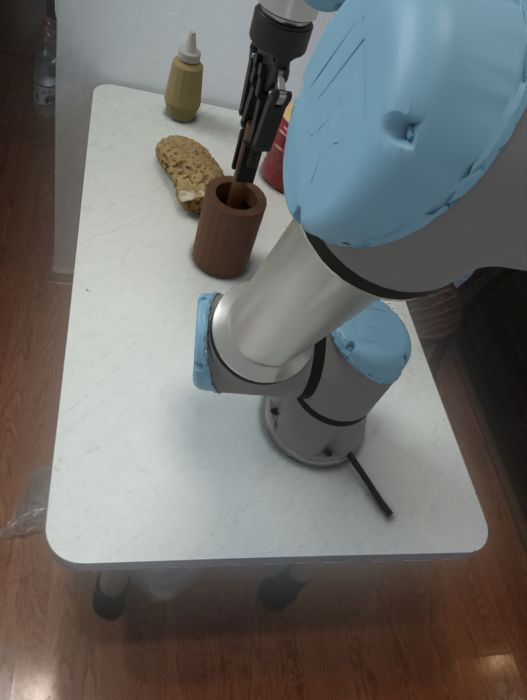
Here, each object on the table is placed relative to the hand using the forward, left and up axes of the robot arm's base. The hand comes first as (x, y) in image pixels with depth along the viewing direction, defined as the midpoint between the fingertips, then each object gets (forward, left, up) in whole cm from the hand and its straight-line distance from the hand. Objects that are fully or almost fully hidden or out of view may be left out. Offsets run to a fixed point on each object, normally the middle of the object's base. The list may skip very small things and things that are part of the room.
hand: (242, 174), depth 83 cm
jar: (0, 0, -18) cm, 18 cm away
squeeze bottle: (+35, -29, -18) cm, 49 cm away
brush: (0, 0, -13) cm, 13 cm away
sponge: (+17, -11, -18) cm, 27 cm away
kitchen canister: (+6, -32, -18) cm, 37 cm away
